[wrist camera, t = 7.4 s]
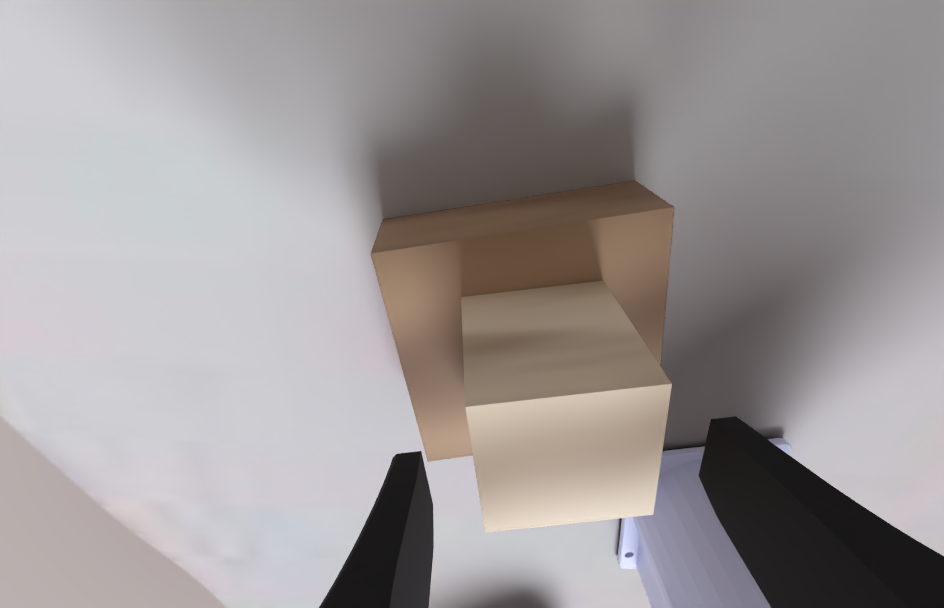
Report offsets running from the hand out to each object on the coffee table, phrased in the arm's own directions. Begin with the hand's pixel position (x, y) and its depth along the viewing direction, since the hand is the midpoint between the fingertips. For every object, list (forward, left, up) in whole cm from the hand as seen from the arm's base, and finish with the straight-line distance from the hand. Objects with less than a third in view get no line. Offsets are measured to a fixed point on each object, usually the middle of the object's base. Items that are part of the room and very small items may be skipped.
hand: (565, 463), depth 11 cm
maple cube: (0, 0, -5) cm, 5 cm away
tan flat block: (0, 0, -8) cm, 8 cm away
